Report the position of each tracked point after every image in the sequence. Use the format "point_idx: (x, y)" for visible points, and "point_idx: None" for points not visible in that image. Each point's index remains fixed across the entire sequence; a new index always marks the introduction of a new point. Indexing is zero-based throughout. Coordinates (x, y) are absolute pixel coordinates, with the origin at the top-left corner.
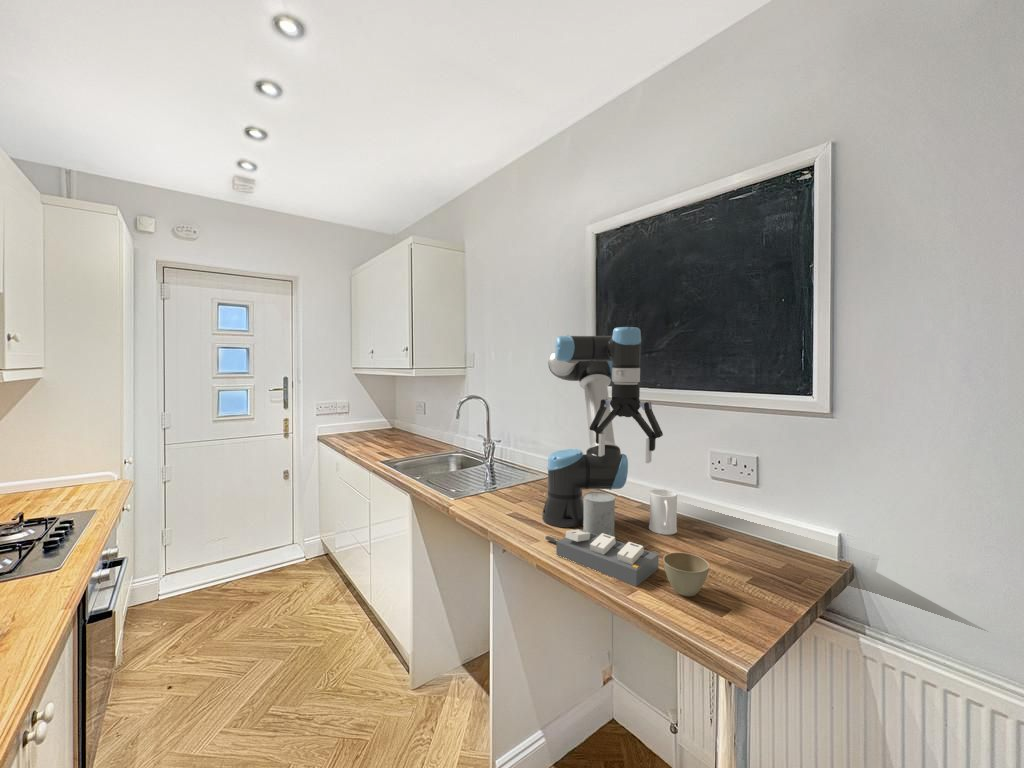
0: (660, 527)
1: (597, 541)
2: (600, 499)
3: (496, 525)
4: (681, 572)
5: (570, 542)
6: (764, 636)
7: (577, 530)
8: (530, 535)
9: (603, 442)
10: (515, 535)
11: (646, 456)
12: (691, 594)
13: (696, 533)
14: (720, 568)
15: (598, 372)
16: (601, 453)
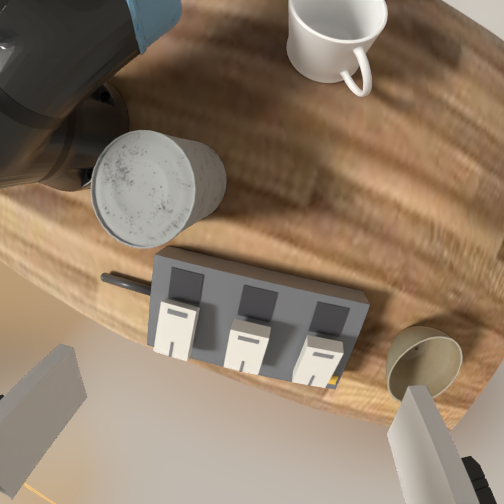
0: (329, 76)
1: (234, 358)
2: (152, 209)
3: (13, 253)
4: None
5: None
6: (479, 385)
7: (165, 317)
8: (72, 264)
9: (29, 422)
10: (55, 279)
11: (401, 465)
12: (418, 359)
13: (402, 42)
14: (467, 221)
15: None
16: (77, 401)
